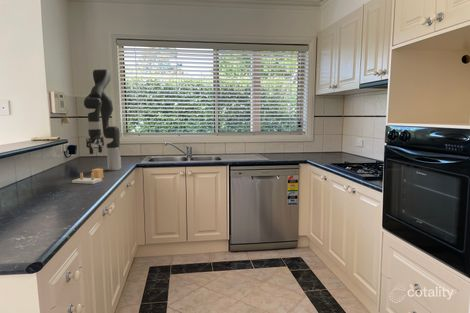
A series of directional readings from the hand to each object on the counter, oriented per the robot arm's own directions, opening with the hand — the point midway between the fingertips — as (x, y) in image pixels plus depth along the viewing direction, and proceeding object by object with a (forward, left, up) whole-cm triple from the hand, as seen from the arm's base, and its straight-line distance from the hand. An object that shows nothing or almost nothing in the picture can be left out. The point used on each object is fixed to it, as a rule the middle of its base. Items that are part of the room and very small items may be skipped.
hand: (96, 153), depth 212 cm
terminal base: (+11, +1, -17) cm, 20 cm away
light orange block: (0, 0, -17) cm, 17 cm away
